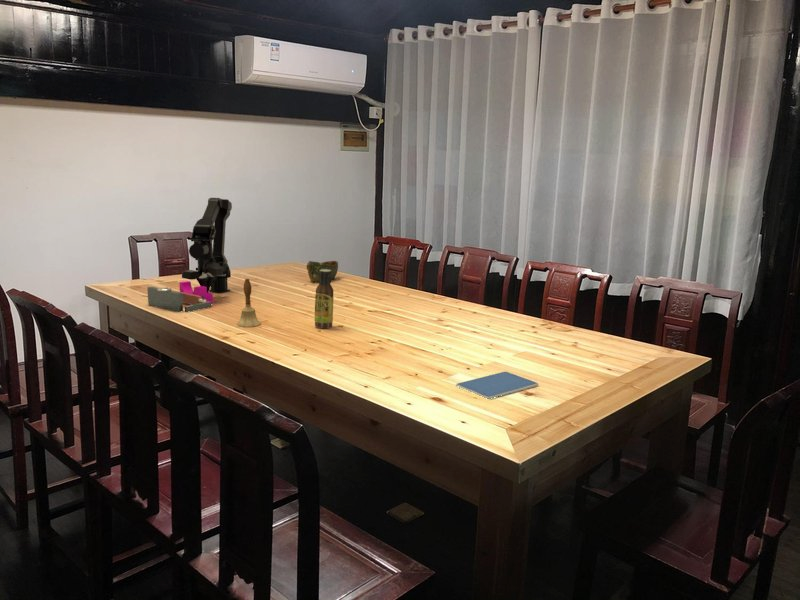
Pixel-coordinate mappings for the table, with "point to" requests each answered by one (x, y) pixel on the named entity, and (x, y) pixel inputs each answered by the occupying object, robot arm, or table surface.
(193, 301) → the gauge plunger
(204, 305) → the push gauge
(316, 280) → the dark green lobed piece
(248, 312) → the hand bell
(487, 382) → the blue notebook
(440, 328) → the table surface
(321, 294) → the sauce bottle
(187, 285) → the toy block
